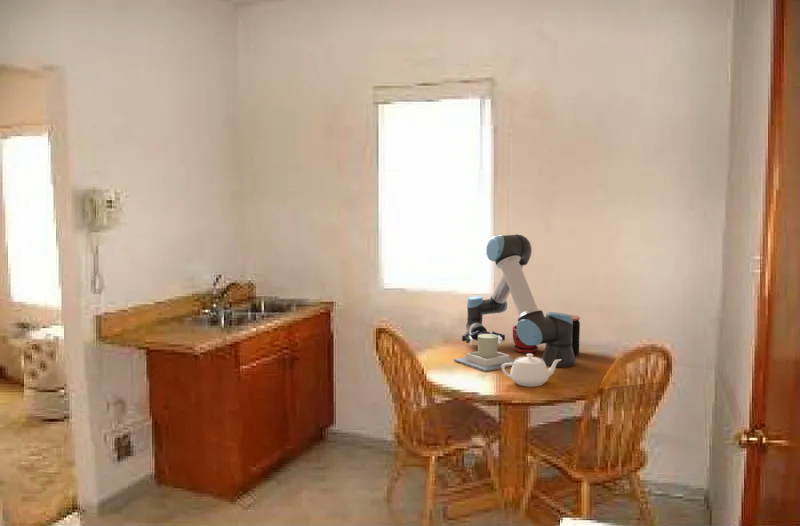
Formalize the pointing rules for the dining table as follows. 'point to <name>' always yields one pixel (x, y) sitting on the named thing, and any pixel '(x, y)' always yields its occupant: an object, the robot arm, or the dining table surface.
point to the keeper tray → (485, 361)
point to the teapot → (530, 370)
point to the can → (487, 345)
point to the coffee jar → (575, 334)
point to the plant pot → (522, 344)
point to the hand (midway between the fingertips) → (486, 341)
